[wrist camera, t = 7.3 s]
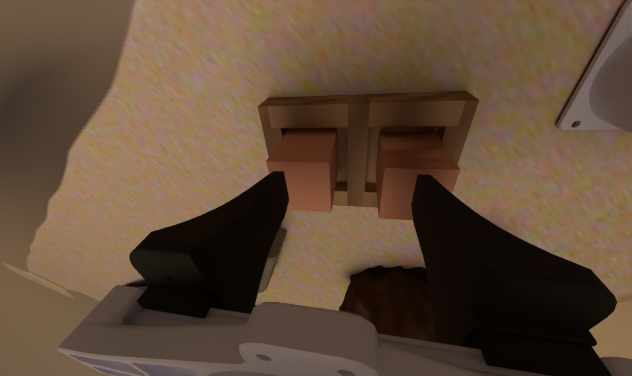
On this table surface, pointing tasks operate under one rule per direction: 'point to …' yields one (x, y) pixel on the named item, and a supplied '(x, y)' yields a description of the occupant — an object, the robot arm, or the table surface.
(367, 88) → the table surface
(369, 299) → the owl
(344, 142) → the walnut base
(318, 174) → the post block
